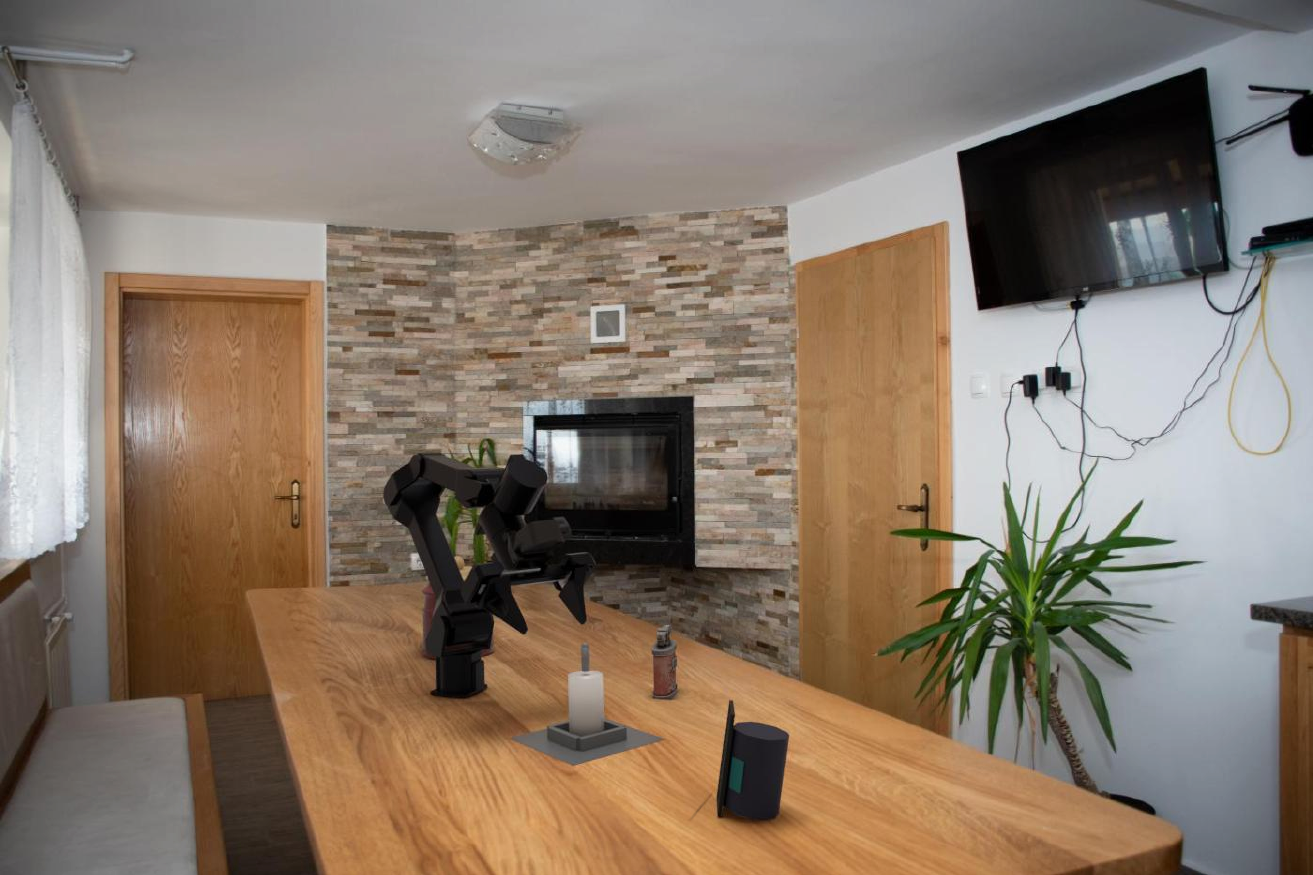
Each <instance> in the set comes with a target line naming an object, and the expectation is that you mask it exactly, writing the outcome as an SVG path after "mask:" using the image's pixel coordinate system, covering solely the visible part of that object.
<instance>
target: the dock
mask: <svg viewBox="0 0 1313 875" xmlns="http://www.w3.org/2000/svg"><path fill="white" fill-rule="evenodd" d="M509 739H511V740H512V741H514V742H517V743H519V744H521V745H524V746H526V747H528V748H530V749H533V750H535V751H537V752H540V753H542V754H545V755H547V756H549V757H551V758H554V759H557V761H558V760H559V761H561V762H564V763H566V764H567V765H570V766H572V767H573V766H578V765H581V764H584V763H588V762H592V761H595V760H599V759H602V758H606V757H610V756H612V755H616V754H619V753H625V752H627V751H631V750H634V749H638V748H640V747H644V746H648V745H653V744H654V743H659V742H662V741H665V740H666V738H663V737H661V736H658V735H656V734H655V735H654V734H653V733H652V734H651V733H649V732H646V731H643V730H640V729H637V728H634V727H632V726H628V725H626V724H623V723H621V722H617V721H614V720H611V719H609V718H605V717H604V731H602V732H599V733H595V734H591V735H587V736H583V737H579V736H577V735H574V734H572V733H569V719H568V720H565V721H560V722H557V723H552V724H548V725H546V728H544V729H540V730H537V731H536V730H535V731H532V732H528V733H524V734H520V735H515V736H511V737H509Z"/></svg>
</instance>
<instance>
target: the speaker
mask: <svg viewBox="0 0 1313 875" xmlns="http://www.w3.org/2000/svg"><path fill="white" fill-rule="evenodd" d="M735 718H736V712H735V705H734V700H731V699H729V700H728V708H727V715H726V722H725V730H724V738H723V746H722V753H721V758H720V759H721V760H720V769H719V775H718V785H717V790H716V791H717V792H716V809H717V811H716V812H717V818H722V817H723V812H724V811H723V810H724V809H726V810H727V811H730V812H731V813H732V814H734V815H736V816H739V817H743V818H747V819H751V820H758V821H765V820H772V819H776V817H777V816H778V815H779V814H780V808H781V807H780V806H781V798H782V794H783V793H782V792H783V785H784V778H785V772H786V771H785V769H786V762H787V754H788V748H789V741H790V740H789V739H790V734H789V732H787V731H786V730H783V729H782V728H780V727H777V726H774V725H770V724H766V723H763V722H757V721H756V722H755V721H743V722H740V721H739V722H736V723H735ZM723 808H724V809H723Z"/></svg>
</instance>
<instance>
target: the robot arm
mask: <svg viewBox="0 0 1313 875" xmlns="http://www.w3.org/2000/svg"><path fill="white" fill-rule="evenodd" d="M390 475H391V476H389V478H388V480H387V482H386V484H385V485H384V487H383V491H382V496H383V502H384V503H385V504H384V505H386V506H387V509H388V510H389V513H390V515H391V516H392V519H393V520H395V521H396V522H398V523H399V524H400V525H402V526H404V527H406V529H408V531H409V533H410V537H411V539H412V541H413V543H414V546H415V549H416V552H417V554H418V557H419V559H420V561H421V564H422V567H423V568H424V573H425V574H426V576H427V577H428V580H427V581H429V582H430V585H431V587H432V590H433V592H434V595H435V597H436V605H435V609H434V612H433V616H432V620H433V625H432V626H431V628H430V630H429V632H428V634H427V636H426V638H425V644H426V650H427V653H428V654H431V655H434V656H436V659H435V688H434V689H432V690H430V692H429V694H430V696H442V697H452V698H453V697H456V698H469V697H471V696H473V695H475V694H477V693H480V692H481V691H483V690H485V689H488V684H487V683H485V660H483V659H482V657H483V656H481V650H488V649H490V645H491V640H492V634H493V635H494V628H495V620H494V619H495V617H496V618H498V619H500V620H501V621H502V622H504V623H505V624H507V625H509V626H510V627H511V628H513V630H515V631H516V632H518V633H520V634H521V635H526V634H527V632H528V631H529V628H528V625H527V622H526V619H525V617H524V615H523V613H522V611H521V609H520V607H519V605H518V603H517V601H516V598H515V597H514V595H513V593H512V592H513V590H512V587H513V586H520V587H523V586H531V585H538V584H547V583H552V584H553V586H554V587H555V588H554V589H556V590H557V591H558V592H559V593H558V595H557V596H558V598H559V599H560V601H562V603H563V605H564V606H565V607H566V608H567V610H568V611H569V612H570V613H571V614H572V617H574V619H576V621H577V623H579V624H580V625H585V624H586V622H587V620H588V618H587V611H586V600H585V594H584V593H585V592H584V591H585V585H586V583H587V581H588V579H589V578H590V577H591V575H592V573H593V572H594V570H595V569H596V567H597V563H596V561H595V559H594V558H593V556H592V555H591V553H590V552H585V551H584V552H574V553H566V554H564V555H563V557H562V558H561V560H560V562H559V563H558V565H552V566H548V563H547V562H548V561H551V560H552V558H553V557H554V552H553V550H554V549H555V548H556V547H558V546H559V545H563V544H564V543H565V542H566V541H567V540H569V539H570V538H571V537H572V529H571V527H570V524H569V522H568V521H567V520H566V518H565V517H564V516H558V517H557V516H556V517H553V518H552V519H549V520H548V519H545V520H536V521H532V522H528V523H526V521H525V519H524V517H523V516H526V515H528V514H530V513H531V512H532V511H533V508H534V507H535V505H536V504H537V502H538V500H539V498H540V496H541V494H542V493H543V490H544V488H545V487H546V484H547V483H548V480H549V478H548V474H547V471H546V469H545V468H543V467H541V465H539V464H538V463H536V462H534V461H532V460H529V459H526V457H525V455H524V454H523V453H522V454H518V453H517V454H510V455H509V457H508V460H507V461H506V465H505V467H475V466H472V465H470V464H466V463H463V461H462V462H461V461H459V460H456V459H453V458H452V457H448V456H447V455H446V454H444V453H442V452H418V453H416V454H413V455H412V456H411V458H410V460H409V461H408V462H407V463H406V464H404V465H403V466H402V467H400V468H397V470H395V471H394V472H393V473H392V474H390ZM446 489H447V490H450V491H452V492H453V493H454V500H456V502H458V503H459V504H460V505H461V506H463V507H464V508H465V509H469V510H470V509H482V510H481V512H480V515H479V516H478V519H477V520H478V521H477V524H476V526H475V530H474V531H475V532H474V533H475V536H482V535H483V536H484V535H485V536H486V538H487V541H488V543H489V544H490V545H489V546H491V548H492V550H493V553H492V555H491V557H490V559H491V562H490V561H489V562H481V563H480V562H479V563H473V565H472V566H471V567H472V568H471V570H470V572H469V574H468V576H467V578H466V580H465V581H464V580H463V577H462V575H461V572H460V570H459V568H458V565H457V563H456V560H455V558H454V557H455V556H454V553H453V551H452V549H451V546H450V544H449V542H448V539H447V537H446V535H445V532H444V529H443V527H442V525H441V523H440V520H439V518H438V514H437V513H438V510H439V506H440V503H441V496H442V495H443V493H444V492H445V490H446ZM492 614H493V615H492ZM494 616H495V617H494Z"/></svg>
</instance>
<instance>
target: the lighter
mask: <svg viewBox="0 0 1313 875" xmlns="http://www.w3.org/2000/svg"><path fill="white" fill-rule="evenodd" d="M671 635H672V626H671V625H670V624H665V625H663V626H662V627H658V628H657V632H656V642H654V643H653V645H652V646H651V655H652V661H653V662H652V669H653V670H652V672H653V674H652V675H653V691H652V699H654V700H665V701H666V700H667V701H672V700H674V699H675V698H676V697H677V695H678V683H677V667H678V656H677V655H676V650H677V648H678V647H677V646H678V644H677V643H678V642H677V640H676V639H671Z"/></svg>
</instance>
